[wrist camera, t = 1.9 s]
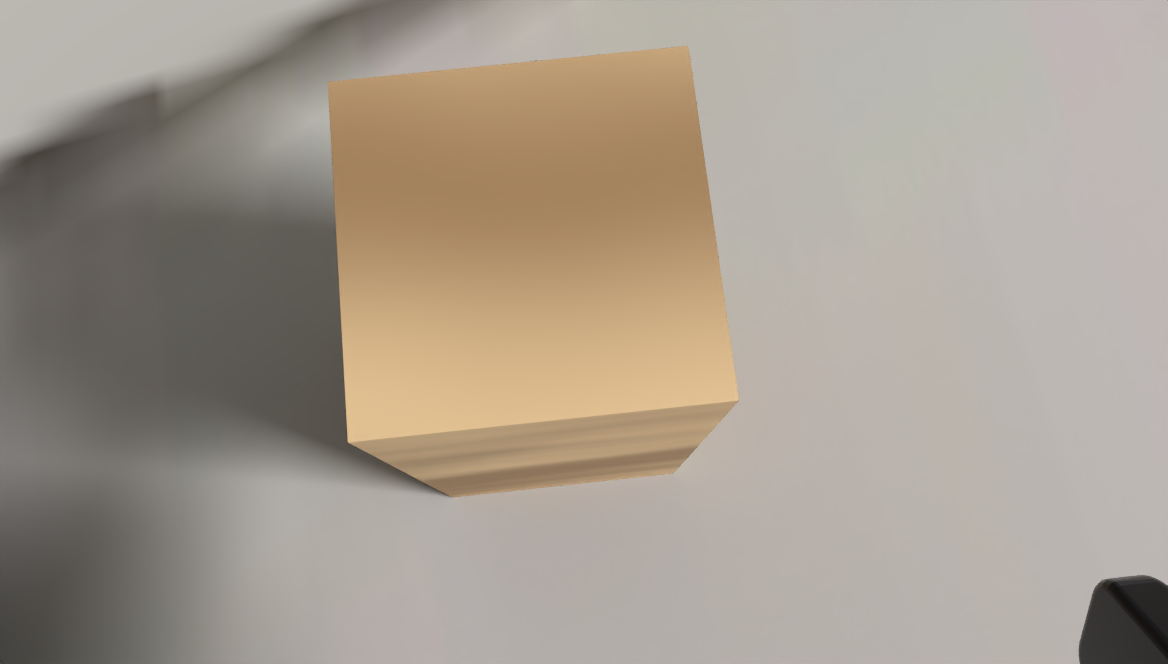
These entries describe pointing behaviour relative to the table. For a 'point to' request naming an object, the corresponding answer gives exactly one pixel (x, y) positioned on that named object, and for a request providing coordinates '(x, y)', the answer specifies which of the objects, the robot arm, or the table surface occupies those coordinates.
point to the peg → (529, 271)
